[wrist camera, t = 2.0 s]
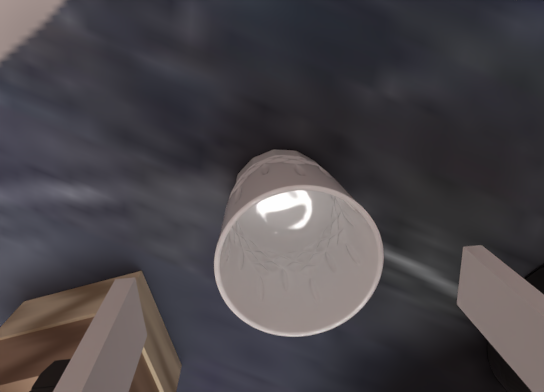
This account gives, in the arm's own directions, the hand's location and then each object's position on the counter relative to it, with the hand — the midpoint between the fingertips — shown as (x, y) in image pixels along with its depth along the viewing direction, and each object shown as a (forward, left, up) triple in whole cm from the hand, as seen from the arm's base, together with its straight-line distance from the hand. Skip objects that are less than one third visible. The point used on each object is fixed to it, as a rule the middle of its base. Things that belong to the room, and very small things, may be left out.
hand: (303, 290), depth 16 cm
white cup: (0, 0, -13) cm, 13 cm away
